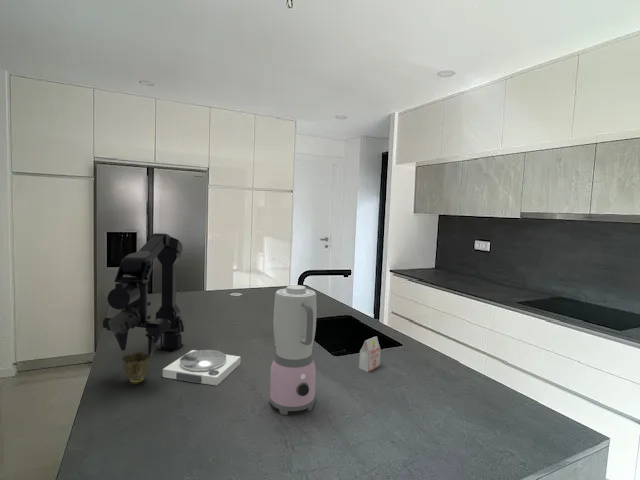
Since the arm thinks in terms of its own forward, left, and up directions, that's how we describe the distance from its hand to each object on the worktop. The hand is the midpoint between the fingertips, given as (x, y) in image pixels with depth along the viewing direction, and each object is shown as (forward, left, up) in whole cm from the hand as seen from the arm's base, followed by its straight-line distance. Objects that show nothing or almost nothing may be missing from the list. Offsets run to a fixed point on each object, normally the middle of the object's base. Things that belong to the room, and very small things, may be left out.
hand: (136, 352), depth 108 cm
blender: (+48, +1, -9) cm, 49 cm away
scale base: (+14, +13, -9) cm, 21 cm away
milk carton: (+65, +32, -9) cm, 73 cm away
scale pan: (+14, +13, -6) cm, 20 cm away
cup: (0, 0, -9) cm, 9 cm away
